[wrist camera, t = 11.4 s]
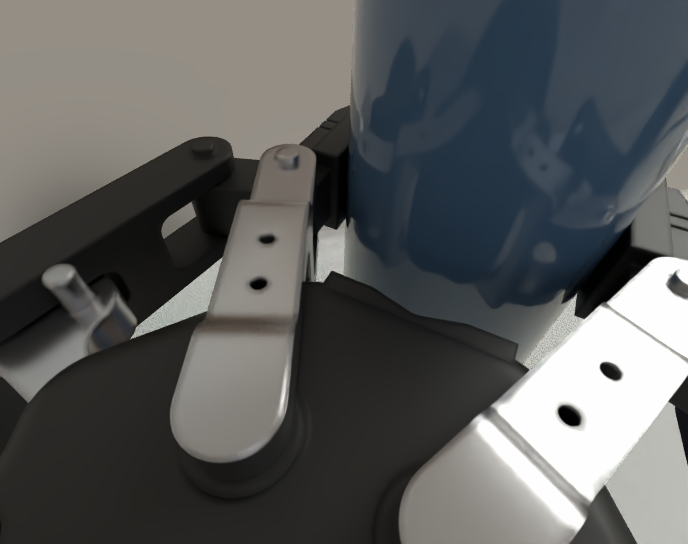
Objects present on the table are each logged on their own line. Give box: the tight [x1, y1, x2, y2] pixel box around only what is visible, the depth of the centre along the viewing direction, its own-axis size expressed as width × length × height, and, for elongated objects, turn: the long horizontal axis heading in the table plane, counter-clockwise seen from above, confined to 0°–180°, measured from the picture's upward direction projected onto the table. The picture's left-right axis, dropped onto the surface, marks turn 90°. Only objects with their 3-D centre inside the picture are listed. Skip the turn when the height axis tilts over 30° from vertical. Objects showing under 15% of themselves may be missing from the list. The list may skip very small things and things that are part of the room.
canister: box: [344, 0, 688, 364], centre depth 11 cm, size 6×6×16 cm
